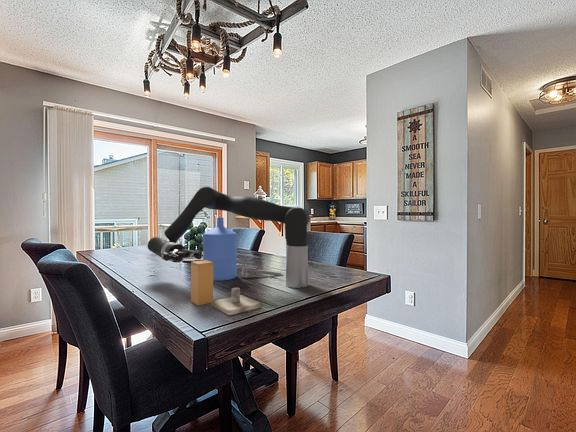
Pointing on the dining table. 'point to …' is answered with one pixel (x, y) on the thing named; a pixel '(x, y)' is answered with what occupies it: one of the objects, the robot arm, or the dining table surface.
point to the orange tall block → (201, 282)
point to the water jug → (221, 251)
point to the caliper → (257, 271)
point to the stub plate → (235, 303)
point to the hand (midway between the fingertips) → (189, 257)
